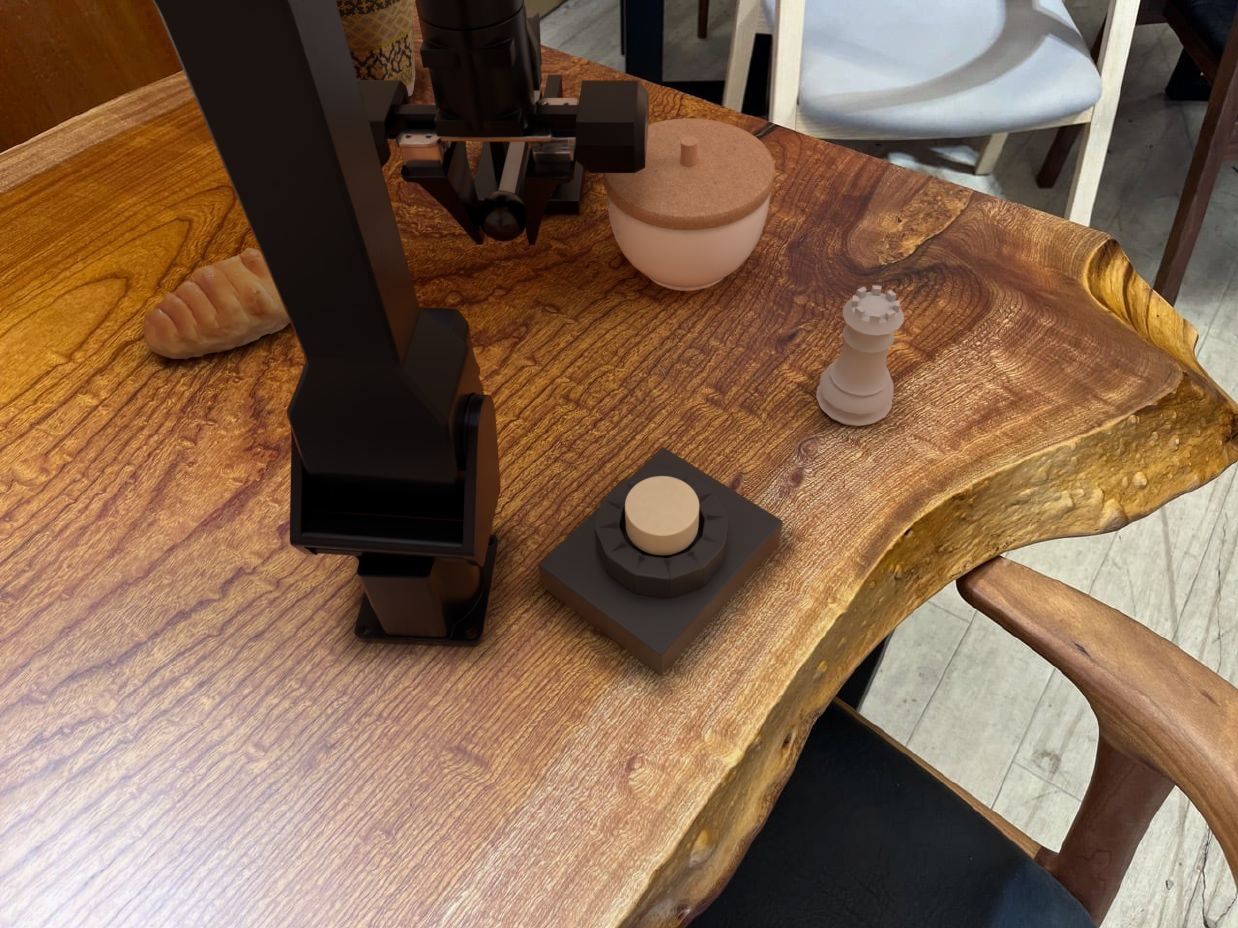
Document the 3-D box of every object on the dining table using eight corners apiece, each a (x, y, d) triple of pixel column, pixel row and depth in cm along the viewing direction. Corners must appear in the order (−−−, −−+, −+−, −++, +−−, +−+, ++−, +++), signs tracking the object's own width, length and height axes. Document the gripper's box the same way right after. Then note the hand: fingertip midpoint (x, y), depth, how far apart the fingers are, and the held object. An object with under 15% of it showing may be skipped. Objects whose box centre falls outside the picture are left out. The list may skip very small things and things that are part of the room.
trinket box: (648, 334, 62) (647, 213, 54) (584, 240, 68) (574, 120, 61) (794, 285, 64) (811, 163, 57) (718, 199, 70) (725, 78, 63)
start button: (667, 568, 46) (667, 548, 45) (610, 530, 48) (609, 509, 46) (712, 521, 48) (714, 500, 46) (656, 485, 49) (656, 464, 48)
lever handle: (527, 252, 62) (521, 211, 60) (478, 251, 62) (470, 210, 60) (551, 123, 71) (548, 82, 69) (509, 123, 72) (503, 82, 69)
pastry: (175, 386, 60) (149, 342, 57) (135, 331, 64) (109, 286, 61) (309, 319, 64) (292, 274, 61) (265, 270, 67) (246, 225, 64)
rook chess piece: (801, 388, 58) (818, 286, 52) (866, 367, 59) (890, 265, 53) (839, 440, 56) (861, 339, 49) (905, 417, 57) (936, 315, 50)
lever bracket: (579, 214, 70) (573, 130, 65) (470, 213, 70) (455, 130, 65) (590, 136, 76) (585, 54, 71) (490, 136, 77) (478, 54, 71)
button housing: (661, 677, 47) (661, 637, 44) (541, 587, 50) (533, 544, 47) (779, 544, 51) (786, 499, 48) (662, 470, 55) (662, 424, 52)
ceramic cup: (460, 82, 82) (439, -39, 74) (370, 134, 77) (337, 11, 70) (362, 37, 88) (333, -81, 80) (272, 83, 83) (232, -37, 75)
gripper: (651, -63, 56) (653, 170, 68) (336, -60, 57) (393, 169, 69) (642, 33, 49) (646, 273, 61) (283, 33, 50) (357, 269, 62)
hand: (507, 241), depth 63 cm, fingers closed on lever handle, 3 cm apart
